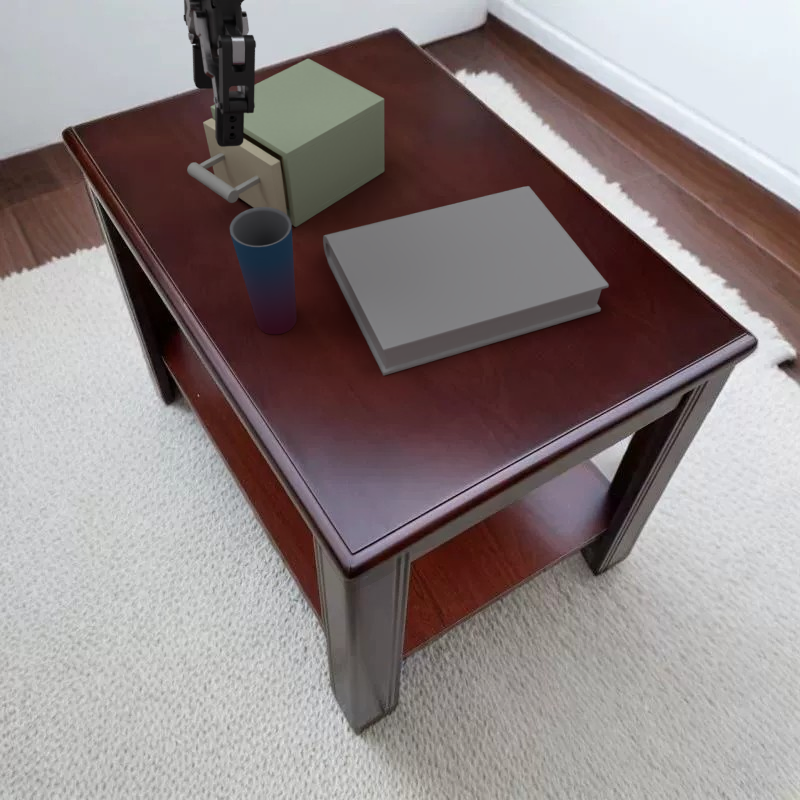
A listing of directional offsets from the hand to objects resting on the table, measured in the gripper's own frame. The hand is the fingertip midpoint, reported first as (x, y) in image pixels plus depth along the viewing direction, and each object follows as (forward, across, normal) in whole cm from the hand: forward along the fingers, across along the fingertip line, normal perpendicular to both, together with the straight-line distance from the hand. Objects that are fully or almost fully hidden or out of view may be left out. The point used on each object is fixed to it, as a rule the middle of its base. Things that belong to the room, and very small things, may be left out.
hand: (217, 114), depth 64 cm
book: (+14, +11, +23) cm, 29 cm away
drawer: (+17, -11, +9) cm, 22 cm away
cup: (+17, +10, +4) cm, 20 cm away
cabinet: (+17, -12, +14) cm, 25 cm away
